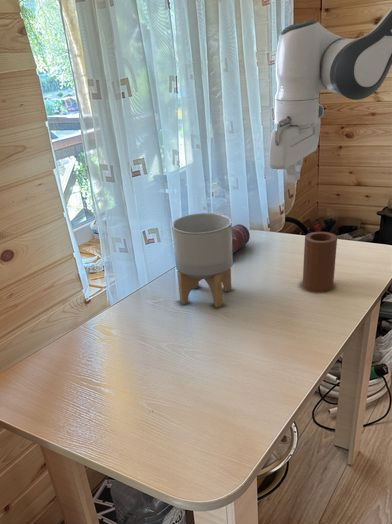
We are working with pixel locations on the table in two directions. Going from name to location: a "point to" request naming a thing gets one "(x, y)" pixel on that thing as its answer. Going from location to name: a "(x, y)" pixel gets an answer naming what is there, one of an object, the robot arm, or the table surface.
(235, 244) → the can
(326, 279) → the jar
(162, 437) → the table surface
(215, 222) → the planter
